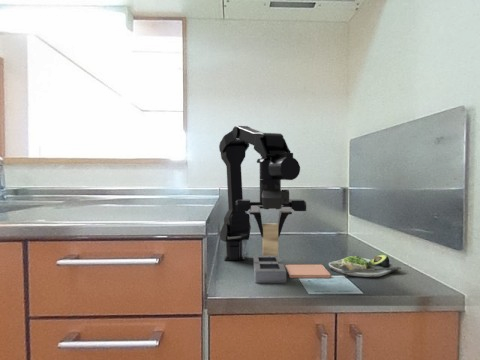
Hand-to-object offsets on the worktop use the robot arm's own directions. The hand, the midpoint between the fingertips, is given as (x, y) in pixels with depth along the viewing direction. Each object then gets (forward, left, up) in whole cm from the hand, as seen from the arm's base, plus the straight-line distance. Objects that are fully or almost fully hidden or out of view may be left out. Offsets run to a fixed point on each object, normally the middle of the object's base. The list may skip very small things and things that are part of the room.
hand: (270, 237), depth 101 cm
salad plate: (-8, +28, -12) cm, 31 cm away
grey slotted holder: (-4, 0, -11) cm, 12 cm away
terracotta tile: (-5, +11, -11) cm, 16 cm away
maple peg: (0, 0, -4) cm, 4 cm away
